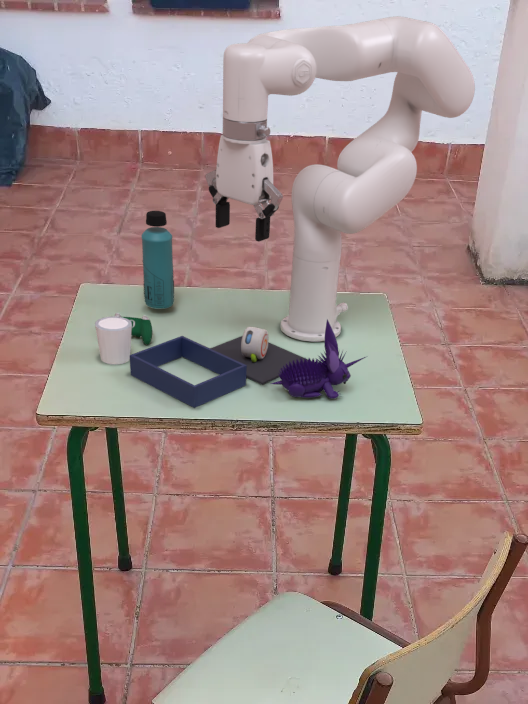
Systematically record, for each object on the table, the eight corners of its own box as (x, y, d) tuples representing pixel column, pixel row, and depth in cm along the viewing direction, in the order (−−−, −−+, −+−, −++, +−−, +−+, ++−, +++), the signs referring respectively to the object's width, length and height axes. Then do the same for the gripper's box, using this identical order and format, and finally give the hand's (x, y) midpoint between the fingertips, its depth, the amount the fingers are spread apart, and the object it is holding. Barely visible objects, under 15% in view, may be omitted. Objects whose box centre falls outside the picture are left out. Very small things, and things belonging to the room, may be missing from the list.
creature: (368, 402, 163) (377, 338, 155) (270, 403, 161) (274, 338, 153) (359, 380, 170) (367, 318, 162) (265, 381, 168) (268, 318, 160)
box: (182, 355, 174) (182, 335, 172) (246, 385, 166) (246, 365, 163) (130, 375, 166) (129, 355, 164) (194, 408, 158) (194, 387, 155)
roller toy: (237, 361, 172) (238, 332, 169) (248, 348, 177) (249, 320, 173) (259, 365, 171) (260, 336, 168) (269, 352, 176) (270, 324, 172)
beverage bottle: (180, 309, 191) (179, 211, 179) (162, 318, 187) (159, 219, 174) (156, 301, 194) (153, 205, 181) (137, 311, 190) (132, 212, 177)
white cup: (94, 352, 173) (91, 317, 169) (128, 348, 175) (126, 314, 171) (101, 367, 168) (99, 332, 164) (137, 363, 170) (135, 328, 166)
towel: (248, 335, 183) (248, 333, 182) (311, 363, 174) (311, 360, 174) (198, 355, 175) (198, 352, 174) (262, 385, 166) (262, 382, 166)
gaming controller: (152, 350, 179) (156, 321, 180) (149, 342, 175) (153, 313, 176) (107, 346, 180) (111, 317, 180) (103, 338, 176) (107, 309, 176)
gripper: (297, 136, 150) (291, 240, 161) (222, 116, 158) (221, 217, 169) (269, 143, 146) (264, 249, 157) (192, 123, 154) (193, 225, 165)
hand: (242, 232), depth 163 cm, fingers open, 9 cm apart
